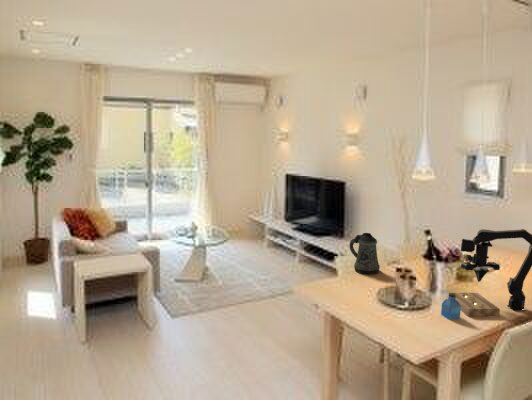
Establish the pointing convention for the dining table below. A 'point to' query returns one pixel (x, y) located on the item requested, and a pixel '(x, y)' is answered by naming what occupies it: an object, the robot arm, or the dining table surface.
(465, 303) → the socket board
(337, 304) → the dining table surface
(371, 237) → the beer stein
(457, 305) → the perfume bottle
